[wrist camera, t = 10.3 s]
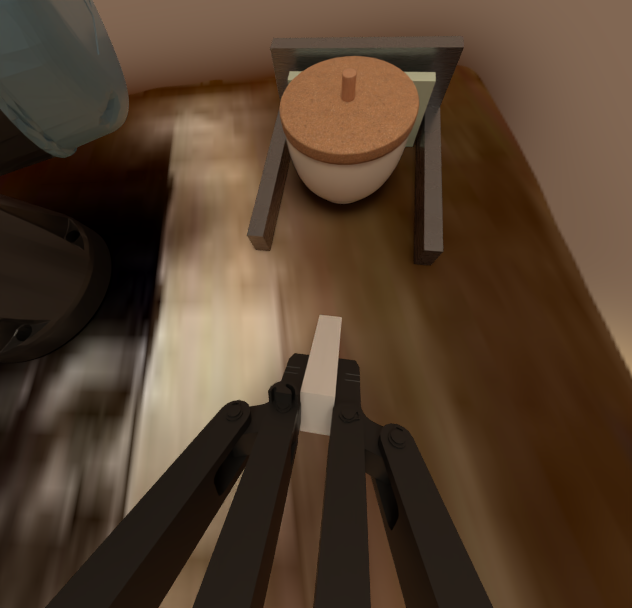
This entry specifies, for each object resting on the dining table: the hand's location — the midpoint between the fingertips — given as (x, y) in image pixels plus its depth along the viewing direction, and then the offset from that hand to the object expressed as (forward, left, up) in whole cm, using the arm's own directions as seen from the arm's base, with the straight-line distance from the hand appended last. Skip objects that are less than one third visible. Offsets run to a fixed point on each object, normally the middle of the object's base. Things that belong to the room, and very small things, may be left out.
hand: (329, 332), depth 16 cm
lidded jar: (-1, +17, -4) cm, 18 cm away
